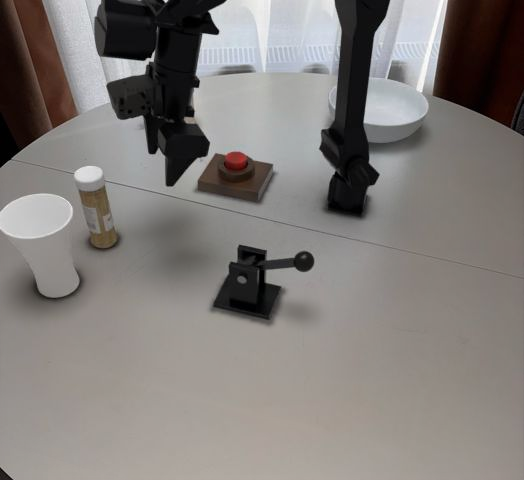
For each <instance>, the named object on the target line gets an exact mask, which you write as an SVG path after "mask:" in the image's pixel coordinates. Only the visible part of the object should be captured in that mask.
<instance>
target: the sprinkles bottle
mask: <svg viewBox="0 0 524 480" xmlns="http://www.w3.org/2000/svg"><path fill="white" fill-rule="evenodd" d="M73 180H74V183H75V187H76V189H77V190H78V194H79V198H80V204H81V207H82V211H83V214H84V219H85V222H86V226H87V229H88V233H89V235H90V243H91V244H92V246H94V247H96V248H98V249H109V248H111V247H112V246H114V245H115V244H116V243H117V241H118V235H117V232H116V228H115V222H114V218H113V214H112V213H113V212H112V209H111V204H110V200H109V198H108V192H107V188H106V177H105V173H104V171H103V169H101V168H100V167H98V166H95V165H86V166H82V167H80V168H78V169H77V170H76V171H75V172H74V174H73Z"/></svg>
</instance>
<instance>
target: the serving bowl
mask: <svg viewBox="0 0 524 480" xmlns="http://www.w3.org/2000/svg"><path fill="white" fill-rule="evenodd" d="M336 94H337V84H336V85H334V86H333V87H332V88H331V89H330V91H329V93H328V97H327V98H328V99H327V101H328V102H327V103H328V111H329V114H330V117H331V119H332V121H334V118H335V107H336ZM429 110H430V104H429V101H428V99H427V98H426V97H425V95H424V94H422V92H420V90H418V89H416V88H414V87H412V86H411V85H408V84H406V83H403V82H400V81H397V80H395V79H394V80H393V79H390V78H383V77H374V76H373V77H371V76H369V83H368V92H367V100H366V108H365V116H364V129H365V132H366V136H367V139H368V143H374V144H376V143H377V144H386V143H393V142H398V141H401V140H403V139H406V138H408V137H409V136H411V135H413V134H414V133H416V131H417V130H418V129H419V128H420V127H421V126H422V125H423V123H424V122H425V119H426V117H427V116H428V113H429Z"/></svg>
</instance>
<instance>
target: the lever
mask: <svg viewBox="0 0 524 480" xmlns="http://www.w3.org/2000/svg"><path fill="white" fill-rule="evenodd" d="M236 263H240V264H245V265H249V266H254V267H258V268H259V271H261V270H266V271H270V270H272V271H273V270H282V269H291V268H293V269H294V268H295V270H297V271H298V272H300V273H307V272H309V271H311V270H312V269H313V267H314V266H315V257H314V255H313V253H311V252H310V251H307V250H301V251H299V252H297V253H296V254H295V255H294V256H293V257H287V258H285V257H284V258H276V259H267V260H265V261H258V260H257V257H256V255H254V256H245V257H239V259H238V261H236Z"/></svg>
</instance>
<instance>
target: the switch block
mask: <svg viewBox="0 0 524 480" xmlns="http://www.w3.org/2000/svg"><path fill="white" fill-rule="evenodd" d="M226 155H227V154H223V153H218V152H215V153H214V155H212V158H211V159H210V160H209V162H208V164H207V165H206V167H205V168H204V170H203V171H202V173H201V175H200V176H199V177H198V178H197V190H198V191H199V192H200V191H201V192H206V193H211V194H215V195H220V196H224V197H225V196H226V197H231V198H234V199H239V200H245V201H250V202H253V203H259V201H260V200H261V198H262V196H263V194H264V192H265V190H266V188H267V186H268V184H269V182H270V180H271V179H272V177H273V175H274V163H270V162H265V161H259V160H255V159H253V158H251V157H250V156H248V155H247V154H245V155H246V157H247V166H246V168H245V169H243V170H238V171H234V170H229V169H227V168H226V166H225V156H226Z"/></svg>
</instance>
